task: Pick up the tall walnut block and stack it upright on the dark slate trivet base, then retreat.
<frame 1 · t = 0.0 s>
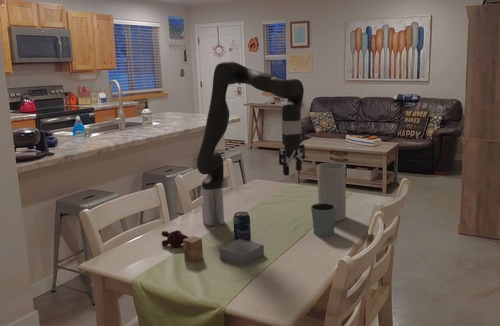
hand: (292, 172, 184), 29 cm above the table, fingers open, 8 cm apart
walnut block: (193, 258, 179), on the table
blue gray cup: (323, 233, 199), on the table
soda can: (242, 241, 194), on the table
cylinder vase: (331, 218, 218), on the table
slate base: (242, 256, 179), on the table
dark brown animal figure: (177, 246, 192), on the table
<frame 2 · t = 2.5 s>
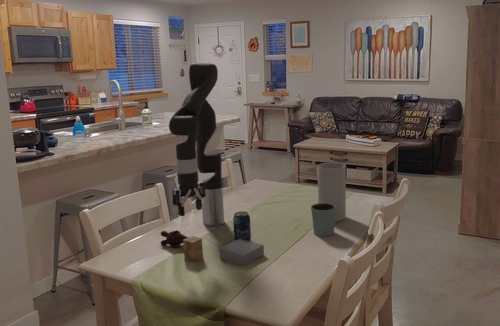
hand: (190, 212, 175), 19 cm above the table, fingers open, 8 cm apart
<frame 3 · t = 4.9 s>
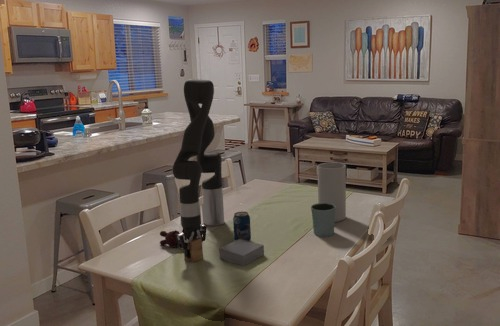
hand: (193, 255, 179), 1 cm above the table, fingers closed on walnut block, 5 cm apart
walnut block: (193, 258, 179), on the table, touching gripper
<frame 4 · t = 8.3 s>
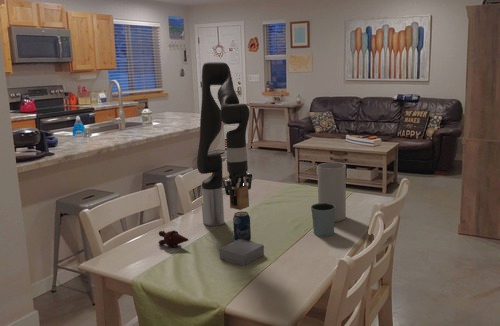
hand: (239, 203, 175), 21 cm above the table, fingers closed on walnut block, 5 cm apart
walnut block: (239, 207, 175), point 20 cm above the table, touching gripper
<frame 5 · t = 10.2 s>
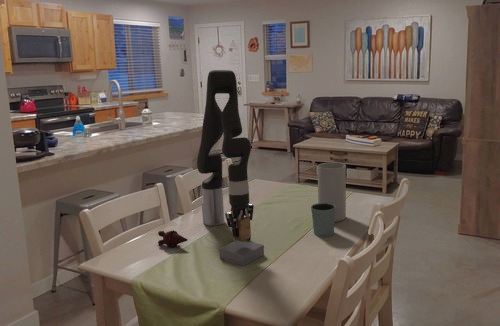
hand: (241, 234, 177), 9 cm above the table, fingers closed on walnut block, 5 cm apart
walnut block: (241, 238, 177), point 7 cm above the table, touching gripper
when the fingers open (7 cm above the table, at t = 11.6 s): walnut block drops 1 cm, resting on slate base.
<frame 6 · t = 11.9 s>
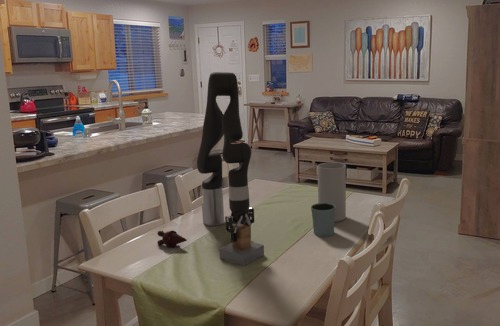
hand: (241, 238, 177), 7 cm above the table, fingers open, 7 cm apart
walnut block: (241, 246, 178), point 4 cm above the table, touching slate base
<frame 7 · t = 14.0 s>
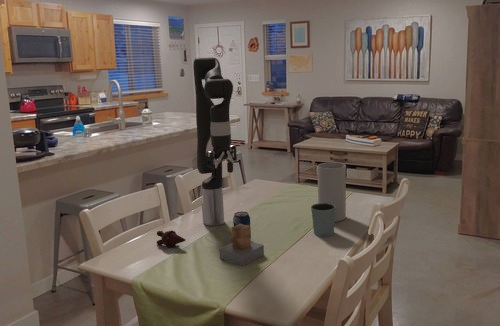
hand: (222, 174, 179), 31 cm above the table, fingers open, 8 cm apart
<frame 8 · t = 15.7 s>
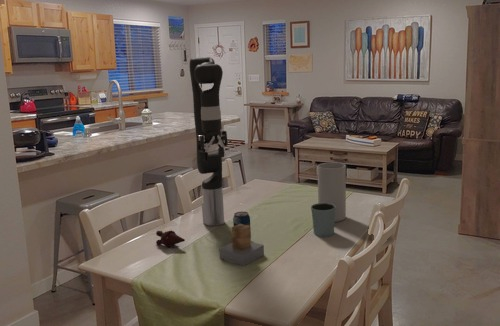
hand: (213, 159, 182), 36 cm above the table, fingers open, 8 cm apart
at the end: walnut block inside the target area on the slate base (0.1 cm from its centre), point 4.0 cm above the slate base's base; walnut block tilted 0°; the gripper is holding nothing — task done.
